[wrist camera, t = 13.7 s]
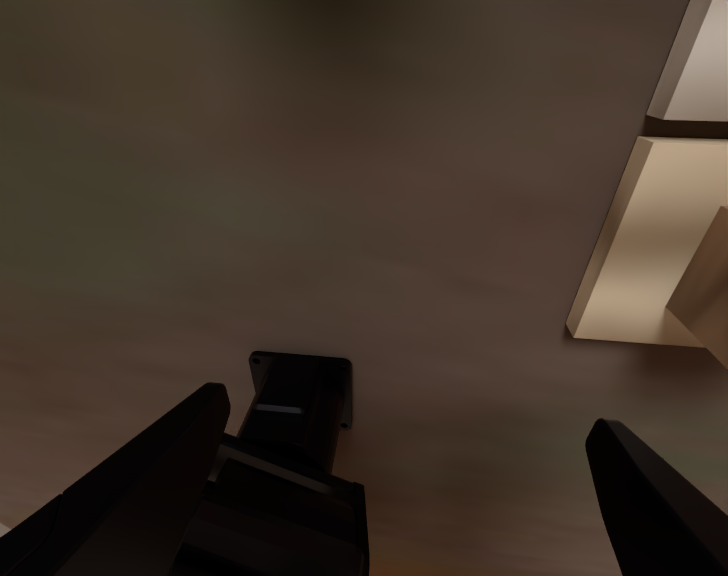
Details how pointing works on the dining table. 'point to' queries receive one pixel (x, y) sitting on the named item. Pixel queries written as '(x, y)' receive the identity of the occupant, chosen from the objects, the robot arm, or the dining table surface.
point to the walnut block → (706, 290)
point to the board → (662, 197)
